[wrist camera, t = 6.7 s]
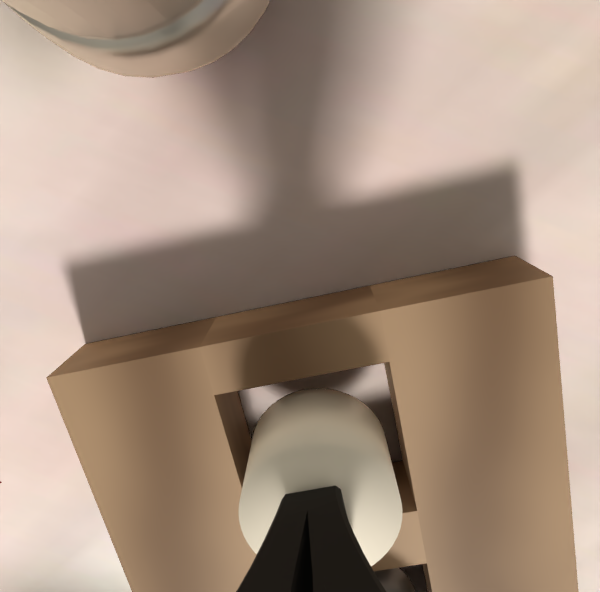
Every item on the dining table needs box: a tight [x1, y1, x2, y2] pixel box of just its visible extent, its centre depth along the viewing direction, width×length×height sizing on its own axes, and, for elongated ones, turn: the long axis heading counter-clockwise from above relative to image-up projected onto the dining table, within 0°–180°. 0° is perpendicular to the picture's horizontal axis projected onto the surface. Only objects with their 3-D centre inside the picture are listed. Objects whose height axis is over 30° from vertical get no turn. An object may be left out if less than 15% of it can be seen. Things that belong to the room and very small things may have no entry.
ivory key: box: [239, 388, 402, 566], centre depth 14 cm, size 4×4×3 cm
